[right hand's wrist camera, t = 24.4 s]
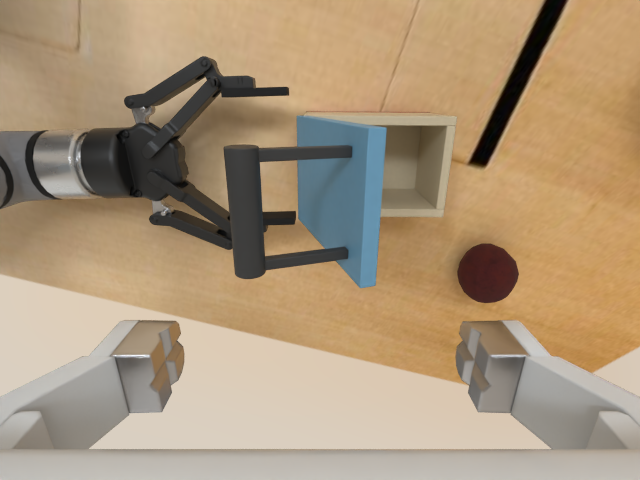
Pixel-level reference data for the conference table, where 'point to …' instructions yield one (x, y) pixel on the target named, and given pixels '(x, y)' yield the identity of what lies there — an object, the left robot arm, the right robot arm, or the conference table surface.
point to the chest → (410, 159)
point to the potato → (487, 273)
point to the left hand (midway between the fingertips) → (292, 158)
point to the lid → (314, 197)
